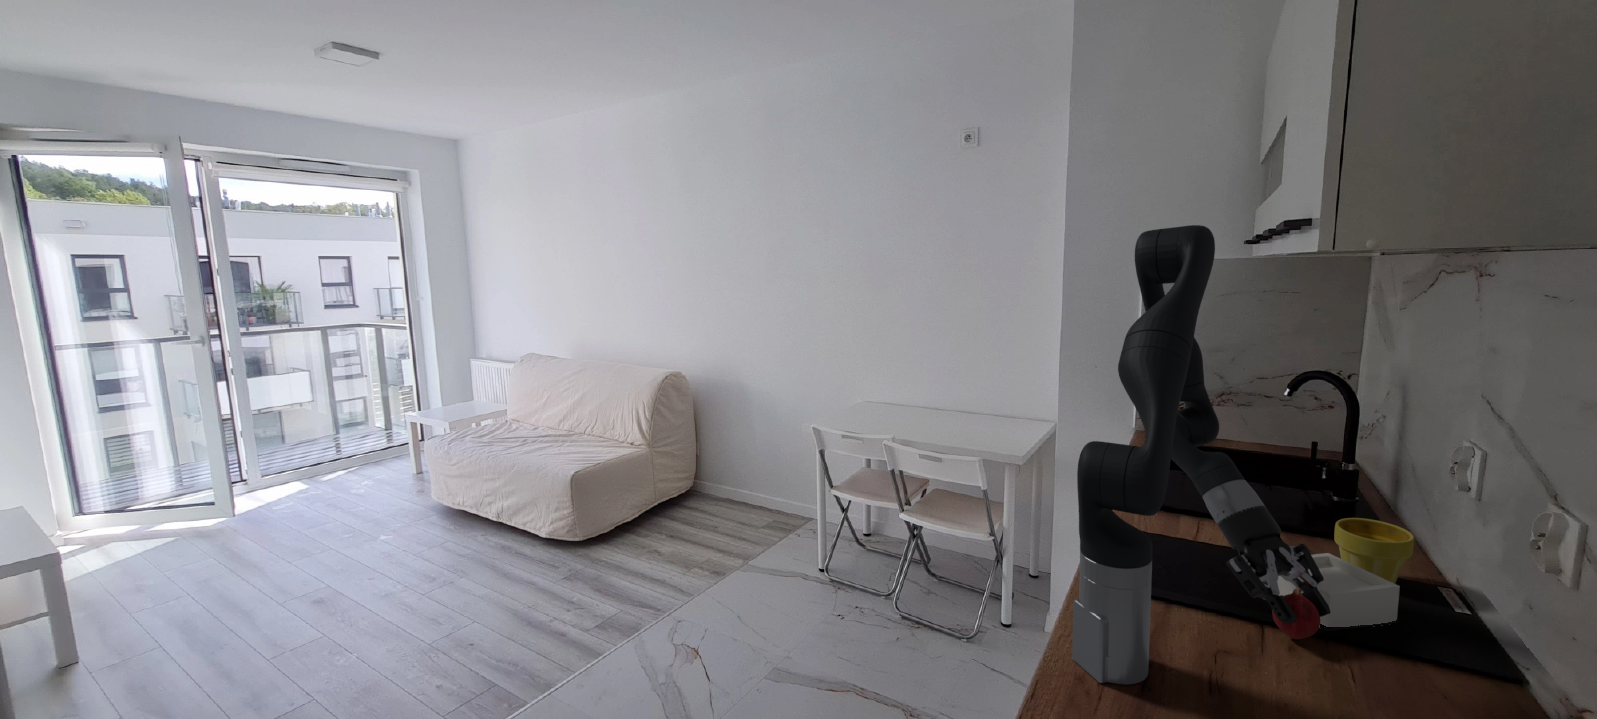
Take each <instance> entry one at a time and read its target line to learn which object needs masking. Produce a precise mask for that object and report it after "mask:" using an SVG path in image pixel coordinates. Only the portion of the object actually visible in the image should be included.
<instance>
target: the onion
mask: <svg viewBox="0 0 1597 719" xmlns="http://www.w3.org/2000/svg"><path fill="white" fill-rule="evenodd" d="M1283 597H1284V598H1285V600H1286V601H1287V603H1288V605H1289V606H1290V608H1291V609H1292V611H1293V612H1294V614H1295V616H1296V617H1297V621H1295V622H1293V623H1290V624H1286V625H1285V624H1283V623H1282V621H1280V620H1279V619H1278V618H1277V616H1276V615H1275V613H1274V612H1273V610H1272V609H1271V612H1272V620H1273V621H1274V623H1275V625H1276V626H1277V627H1278V628H1279V630H1281V632H1283V634H1285V635H1286V636H1288V637H1290V639H1292V640H1300V639H1307V638H1309V637H1312V636H1313V635H1315V634H1316V633H1317V631H1318V630H1319V629H1320V616H1319V612H1318V610H1317V608H1316V607H1315V605H1314V604H1313V603H1312V602H1311V601H1310V600H1308V599H1307V598H1306V597H1304V596H1303V595H1302V594H1301V590H1299V589H1297V588H1296V589H1294V590H1293V592H1292V594H1288V595H1285V596H1283Z"/></svg>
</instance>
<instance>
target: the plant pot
mask: <svg viewBox="0 0 1597 719" xmlns="http://www.w3.org/2000/svg"><path fill="white" fill-rule="evenodd" d="M1333 535H1334V539H1333V540H1334V541H1335V544H1336V545H1337V546H1338V549H1339V555H1340V559H1342V560H1344V561H1347V562H1349V563H1351V564H1353V565H1355V566H1357V567H1359V568H1362V569H1364V570H1366V571H1368V572H1370V573H1372V574H1375V575H1377V576H1379V577H1381V578H1383V579H1385V580H1387V581H1390V582H1392V583H1394V584H1397V583H1396V582H1397V581H1398V578H1399V575H1400V574H1401V571H1402V569H1403V567H1404V564H1405V562H1406V560H1408V559H1410V558H1411V557H1412V556H1413V552H1414V548H1415V546H1414V545H1415V536H1414V535H1413V534H1412V533H1411V532H1410V531H1409V530H1407V529H1405V528H1403V527H1401V526H1398V525H1395V524H1392V523H1388V522H1385V521H1382V520H1377V519H1376V520H1375V519H1370V518H1364V517H1363V518H1362V517H1361V518H1360V517H1348V518H1347V517H1346V518H1340V519H1339V520H1337V521H1336V522H1335V525H1334V534H1333Z"/></svg>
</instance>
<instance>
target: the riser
mask: <svg viewBox="0 0 1597 719" xmlns="http://www.w3.org/2000/svg"><path fill="white" fill-rule="evenodd" d="M1311 556H1312V557H1313V559H1314V561H1315V563H1316V565H1317V567H1318V568H1319V570H1320V572H1321V574H1322V576H1323V578H1324V580H1323V581H1321V582H1320V583H1319V584H1318V585H1317V589H1318V591H1319V592H1320V594H1321V595H1322V596H1323V598H1324V599H1325V601H1326V602H1327V604H1328V605H1329V608H1330V611H1331V613H1330V614H1328V615H1325V616H1322V617H1320V624H1322V625H1324V626H1326V627H1350V626H1358V625H1359V626H1360V625H1373V624H1381V623H1388V622H1392V621H1396V620H1398V612H1399V610H1398V609H1399V598H1400V587H1401V586H1400V585H1398V584H1397V583H1395V584H1394V583H1392V582H1390V581H1387V580H1385V579H1383V578H1381V577H1379V576H1377V575H1375V574H1372V573H1370V572H1368V571H1366V570H1364V569H1362V568H1359V567H1357V566H1355V565H1353V564H1351V563H1349V562H1347V561H1344V560H1342V559H1341V557H1338V556H1336V555H1333V554H1331V553H1330V552H1325V553H1315V554H1311ZM1291 570H1292V571H1293V570H1294V569H1293V568H1292V569H1291ZM1290 572H1291V571H1290ZM1308 572H1309V574H1310V576H1312V573H1311V571H1310V569H1308ZM1297 578H1298V579H1299V580H1300V581H1302V582H1303V580H1302V579H1301V578H1300V577H1297ZM1277 584H1278V587H1279V591H1280V594H1279V596H1280V595H1283V596H1285V595H1288V594H1292V592H1293V590H1294V589H1296V588H1297V587H1296V586H1295V585H1294V584H1292V583H1291V582H1290V581H1286V580H1284V579H1283V578H1282V577H1281V576H1278V580H1277ZM1268 587H1269V586H1268ZM1297 589H1298V588H1297ZM1301 593H1304V592H1302V591H1301Z"/></svg>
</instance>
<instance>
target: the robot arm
mask: <svg viewBox="0 0 1597 719" xmlns="http://www.w3.org/2000/svg"><path fill="white" fill-rule="evenodd" d="M1215 241H1216V240H1215V236H1214V234H1213V232H1212V230H1211V229H1210V228H1208V227H1207V226H1206V225H1205V226H1204V225H1202V224H1199V225H1196V224H1195V225H1193V224H1192V225H1189V224H1188V225H1181V226H1174V227H1167V228H1166V227H1165V228H1159V229H1150V230H1145V231H1143V232H1142V233H1141V234H1140V235H1139V236H1138V238H1137V239H1136V242H1135V246H1134V263H1135V264H1134V266H1135V271H1136V277H1137V281H1138V282H1137V283H1138V286H1139V291H1140V294H1141V298H1142V303H1143V307H1144V310H1145V312H1143V314H1142V315H1141V316H1140V317H1138V319H1137V320H1136V321H1134V323H1133V324H1132V325H1131V326H1130V327H1129V329H1128V331H1127V332H1126V335H1125V336H1124V337H1125V338H1124V340H1123V345H1122V348H1121V352H1120V356H1119V360H1118V364H1117V372H1118V373H1117V374H1118V376H1119V380H1120V382H1121V385H1122V386H1123V388H1124V391H1125V393H1126V394H1127V396H1128V397H1129V400H1130V401H1131V402H1132V405H1133V406H1134V407H1135V409H1136V411H1137V413H1138V415H1139V418H1140V420H1141V423H1142V426H1143V429H1144V433H1145V436H1144V437H1145V438H1144V443H1143V444H1142V446H1138V445H1137V446H1136V445H1130V444H1122V443H1117V442H1115V443H1114V442H1109V441H1107V442H1106V441H1100V440H1099V441H1098V440H1092V441H1089V442H1088V443H1086V444H1085V445H1084V446H1083V448H1082V449H1081V451H1080V454H1079V457H1078V461H1077V471H1076V475H1077V476H1076V477H1077V478H1076V479H1077V480H1076V482H1077V485H1076V486H1077V487H1076V488H1077V502H1078V534H1079V535H1078V536H1079V581H1078V582H1079V585H1078V587H1079V590H1078V592H1079V593H1078V596H1079V597H1078V598H1076V599H1073V602H1072V603H1073V604H1072V656H1071V658H1072V660H1073V661H1074V662H1075V663H1076V664H1078V666H1080V668H1082V669H1083V670H1084V671H1086V672H1087V674H1088V675H1090V676H1091V677H1092V678H1093V679H1095V680H1096V681H1097V682H1098V683H1099V684H1104V683H1112V684H1117V685H1135V684H1138V683H1139V684H1140V683H1142V682H1143V681H1144V680H1146V679H1147V677H1148V675H1149V661H1150V660H1149V659H1150V636H1151V635H1150V634H1151V632H1150V630H1151V603H1152V601H1151V600H1152V598H1151V597H1152V596H1151V595H1152V575H1153V574H1152V571H1153V543H1152V540H1151V539H1150V537H1149V536H1148V535H1147V534H1146V533H1145V532H1144V531H1142V530H1140V529H1139V528H1137V527H1135V526H1134V525H1132V524H1130V523H1128V522H1127V521H1125V520H1123V518H1121V517H1120V516H1119V515H1117V513H1115V511H1118V512H1123V513H1127V514H1133V515H1137V516H1145V517H1146V516H1147V517H1153V516H1155V515H1156V514H1158V513H1159V511H1160V510H1161V508H1162V506H1163V504H1164V502H1165V499H1166V498H1165V497H1166V496H1167V495H1166V493H1167V489H1168V484H1169V478H1170V470H1171V469H1170V468H1171V461H1173V463H1174V464H1176V465H1177V466H1178V467H1179V469H1181V470H1182V471H1183V472H1184V474H1186V475H1187V476H1188V478H1189V479H1190V480H1191V481H1192V483H1193V485H1194V487H1195V488H1196V489H1197V491H1198V493H1199V494H1200V496H1201V497H1202V499H1203V501H1204V503H1205V506H1206V508H1207V510H1208V511H1209V514H1210V516H1211V517H1212V518H1213V520H1214V521H1215V524H1216V525H1217V526H1218V528H1219V530H1220V531H1221V533H1222V534H1223V536H1224V538H1225V539H1226V541H1227V543H1228V544H1229V546H1230V547H1231V549H1233V550H1237V551H1238V552H1237V553H1238V555H1236V556H1234V557H1233V558H1230V559H1228V560H1227V561H1226V564H1225V565H1226V566H1227V568H1228V569H1229V570H1230V572H1232V574H1233V576H1234V577H1236V579H1237V581H1238V582H1239V583H1240V585H1241V586H1242V587H1243V588H1244V589H1245V592H1247V594H1248V595H1249V596H1250V597H1251V598H1252V599H1253V598H1254V599H1256V598H1261V599H1262V600H1265V601H1266V602H1267V604H1268V605H1269V607H1270V609H1271V611H1272V610H1273V612H1274V613H1275V615H1276V616H1277V618H1278V619H1279V620H1280V621H1282V623H1283V624H1285V625H1286V624H1290V623H1293V622H1295V621H1297V617H1296V616H1295V614H1294V612H1293V611H1292V609H1291V608H1290V606H1289V605H1288V603H1287V601H1286V600H1285V598H1284V597H1283V595H1280V596H1279V594H1280V591H1279V587H1278V584H1277V580H1278V576H1281V577H1282V578H1283V579H1284V580H1286V581H1290V582H1291V583H1292V584H1294V585H1295V586H1296V587H1297V588H1298V589H1299V590H1301V591H1302V592H1304V593H1301V594H1302V595H1303V596H1304V597H1306V598H1307V599H1308V600H1310V601H1311V602H1312V603H1313V604H1314V605H1315V607H1316V608H1317V610H1318V612H1319V616H1320V617H1322V616H1325V615H1328V614H1330V613H1331V611H1330V608H1329V605H1328V604H1327V602H1326V601H1325V599H1324V598H1323V596H1322V595H1321V594H1320V592H1319V591H1318V589H1317V585H1318V584H1319V583H1320V582H1321V581H1323V580H1324V578H1323V576H1322V574H1321V572H1320V570H1319V568H1318V567H1317V565H1316V563H1315V561H1314V559H1313V557H1312V556H1311V555H1312V554H1311V552H1310V550H1309V548H1308V547H1307V546H1306V544H1304V543H1299V544H1297V545H1289V544H1288V543H1287V542H1285V541H1284V540H1283V539H1282V537H1281V532H1282V530H1281V527H1280V526H1279V524H1278V523H1277V522H1276V520H1275V519H1274V517H1273V516H1272V514H1271V513H1270V511H1269V510H1268V508H1267V507H1266V505H1265V504H1264V502H1263V501H1262V500H1261V498H1260V497H1259V495H1258V494H1257V493H1256V491H1255V490H1254V489H1253V487H1252V486H1251V485H1250V484H1249V483H1248V482H1247V480H1245V479H1246V478H1245V477H1244V476H1243V474H1242V473H1241V471H1240V470H1239V469H1238V467H1237V466H1236V464H1235V463H1234V461H1233V460H1232V459H1231V458H1230V456H1229V455H1228V454H1226V453H1225V452H1220V451H1206V450H1201V449H1200V448H1198V447H1201V446H1205V445H1209V444H1211V443H1213V442H1214V441H1215V440H1216V439H1217V437H1218V435H1219V433H1220V421H1219V418H1218V416H1217V414H1216V411H1215V410H1214V407H1213V405H1212V403H1211V399H1210V396H1209V394H1208V391H1207V389H1206V386H1205V375H1204V373H1205V372H1204V371H1205V370H1204V361H1203V354H1202V351H1201V348H1200V345H1199V343H1198V342H1197V339H1196V338H1195V330H1196V327H1197V321H1198V316H1199V311H1200V307H1201V305H1202V301H1203V298H1204V295H1205V291H1206V289H1207V285H1208V282H1209V279H1210V277H1211V273H1212V269H1213V265H1214V261H1215V254H1216V242H1215ZM1165 284H1167V285H1168V284H1173V285H1172V287H1171V288H1170V289H1169V291H1168V292H1167V293H1166V294H1165V290H1164V289H1165V288H1164V285H1165ZM1182 402H1183V403H1184V408H1180V409H1179V407H1180V404H1181V403H1182ZM1292 568H1293V569H1294V570H1293V571H1292V570H1291V569H1292ZM1308 569H1310V571H1311V573H1312V576H1310V574H1309V572H1308ZM1290 571H1291V572H1290ZM1297 577H1300V578H1301V579H1302V580H1303V582H1302V581H1300V580H1299V579H1298V578H1297ZM1254 586H1255V587H1254ZM1268 586H1269V587H1268Z"/></svg>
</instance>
